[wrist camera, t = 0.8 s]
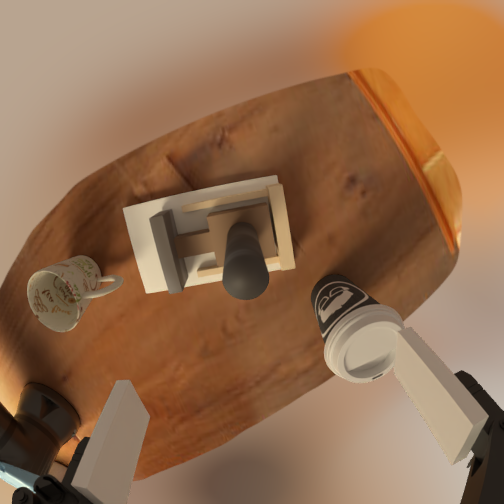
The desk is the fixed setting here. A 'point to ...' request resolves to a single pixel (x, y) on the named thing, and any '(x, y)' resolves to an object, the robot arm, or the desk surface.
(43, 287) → the mug
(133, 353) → the desk surface
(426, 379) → the robot arm
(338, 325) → the coffee cup
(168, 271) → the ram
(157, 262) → the white slotted peg base
